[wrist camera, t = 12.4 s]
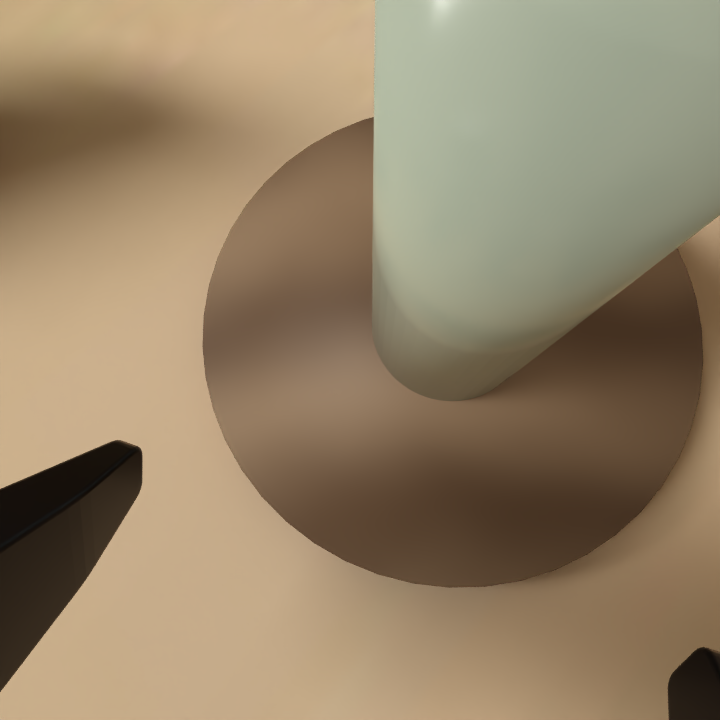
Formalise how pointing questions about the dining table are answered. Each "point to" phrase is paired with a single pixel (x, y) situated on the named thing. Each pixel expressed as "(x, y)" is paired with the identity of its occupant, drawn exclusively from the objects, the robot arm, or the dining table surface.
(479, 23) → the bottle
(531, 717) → the dining table surface
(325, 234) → the disc
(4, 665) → the robot arm
